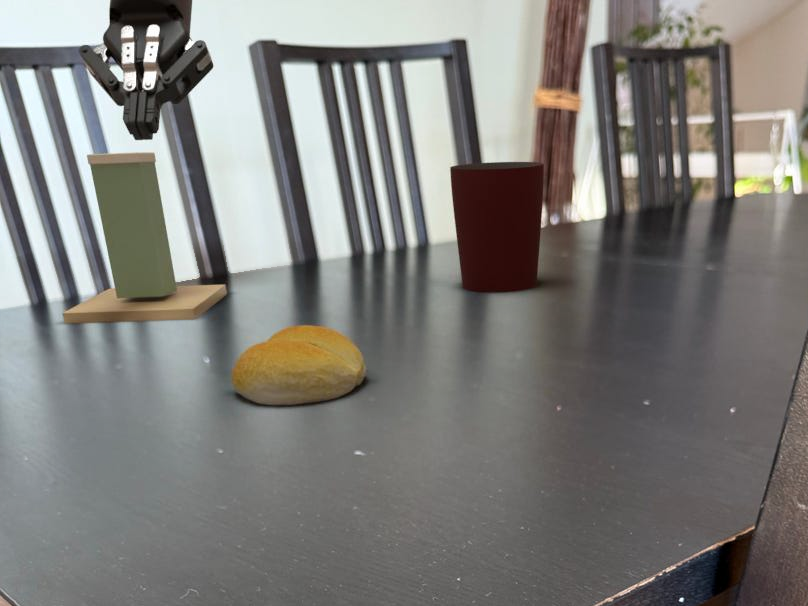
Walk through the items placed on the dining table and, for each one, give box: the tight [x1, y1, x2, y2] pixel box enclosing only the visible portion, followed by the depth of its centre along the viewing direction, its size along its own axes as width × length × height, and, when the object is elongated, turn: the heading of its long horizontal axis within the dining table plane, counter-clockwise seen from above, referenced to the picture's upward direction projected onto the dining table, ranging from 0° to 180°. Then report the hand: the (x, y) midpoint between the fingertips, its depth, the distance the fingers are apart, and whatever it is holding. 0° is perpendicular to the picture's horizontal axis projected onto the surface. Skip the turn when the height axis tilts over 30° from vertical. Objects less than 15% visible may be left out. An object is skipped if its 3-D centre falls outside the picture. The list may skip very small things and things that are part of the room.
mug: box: [449, 161, 545, 294], centre depth 93 cm, size 12×9×11 cm
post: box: [86, 151, 177, 298], centre depth 87 cm, size 5×5×12 cm
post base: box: [62, 284, 228, 325], centre depth 90 cm, size 12×12×1 cm
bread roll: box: [231, 324, 367, 406], centre depth 63 cm, size 8×9×4 cm
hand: (140, 133), depth 89 cm, fingers closed
